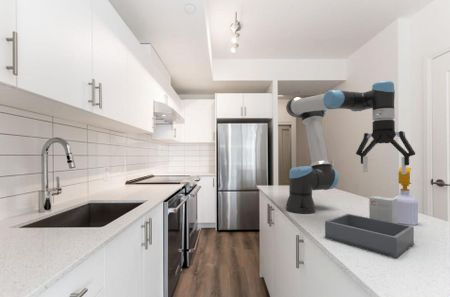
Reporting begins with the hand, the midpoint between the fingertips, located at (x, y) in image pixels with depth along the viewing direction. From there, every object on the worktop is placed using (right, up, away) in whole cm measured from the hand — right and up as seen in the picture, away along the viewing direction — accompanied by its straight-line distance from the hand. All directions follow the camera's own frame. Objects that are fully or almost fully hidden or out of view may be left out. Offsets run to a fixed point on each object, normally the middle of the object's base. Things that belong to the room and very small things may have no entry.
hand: (383, 173), depth 98 cm
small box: (0, -23, 0) cm, 23 cm away
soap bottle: (+17, -24, +12) cm, 31 cm away
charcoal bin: (-14, -23, -12) cm, 29 cm away
